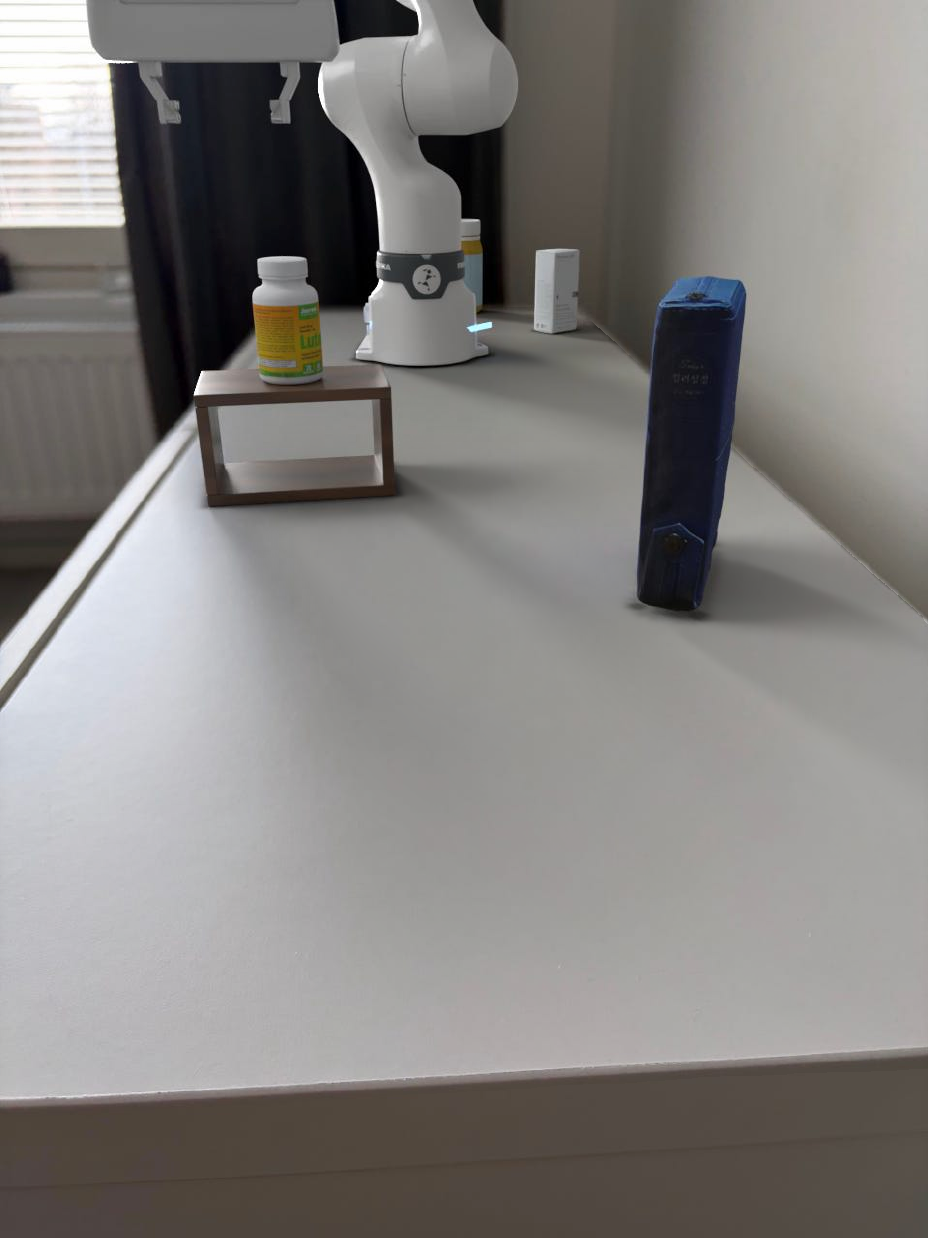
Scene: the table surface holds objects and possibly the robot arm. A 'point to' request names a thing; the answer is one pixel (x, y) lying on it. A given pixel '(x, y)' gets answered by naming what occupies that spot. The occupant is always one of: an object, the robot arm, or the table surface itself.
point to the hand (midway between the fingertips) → (226, 123)
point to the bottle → (472, 258)
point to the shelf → (297, 474)
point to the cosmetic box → (556, 290)
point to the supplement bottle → (287, 322)
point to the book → (688, 437)
